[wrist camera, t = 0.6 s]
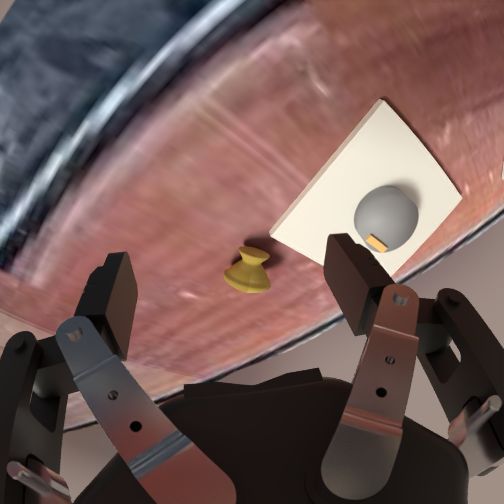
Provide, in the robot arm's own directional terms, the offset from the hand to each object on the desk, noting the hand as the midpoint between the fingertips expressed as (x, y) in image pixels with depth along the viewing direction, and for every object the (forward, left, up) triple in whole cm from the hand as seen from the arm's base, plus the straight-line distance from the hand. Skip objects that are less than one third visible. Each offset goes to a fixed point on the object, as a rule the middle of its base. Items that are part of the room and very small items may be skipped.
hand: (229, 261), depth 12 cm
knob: (+9, +10, -18) cm, 23 cm away
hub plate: (-4, +19, -18) cm, 26 cm away
